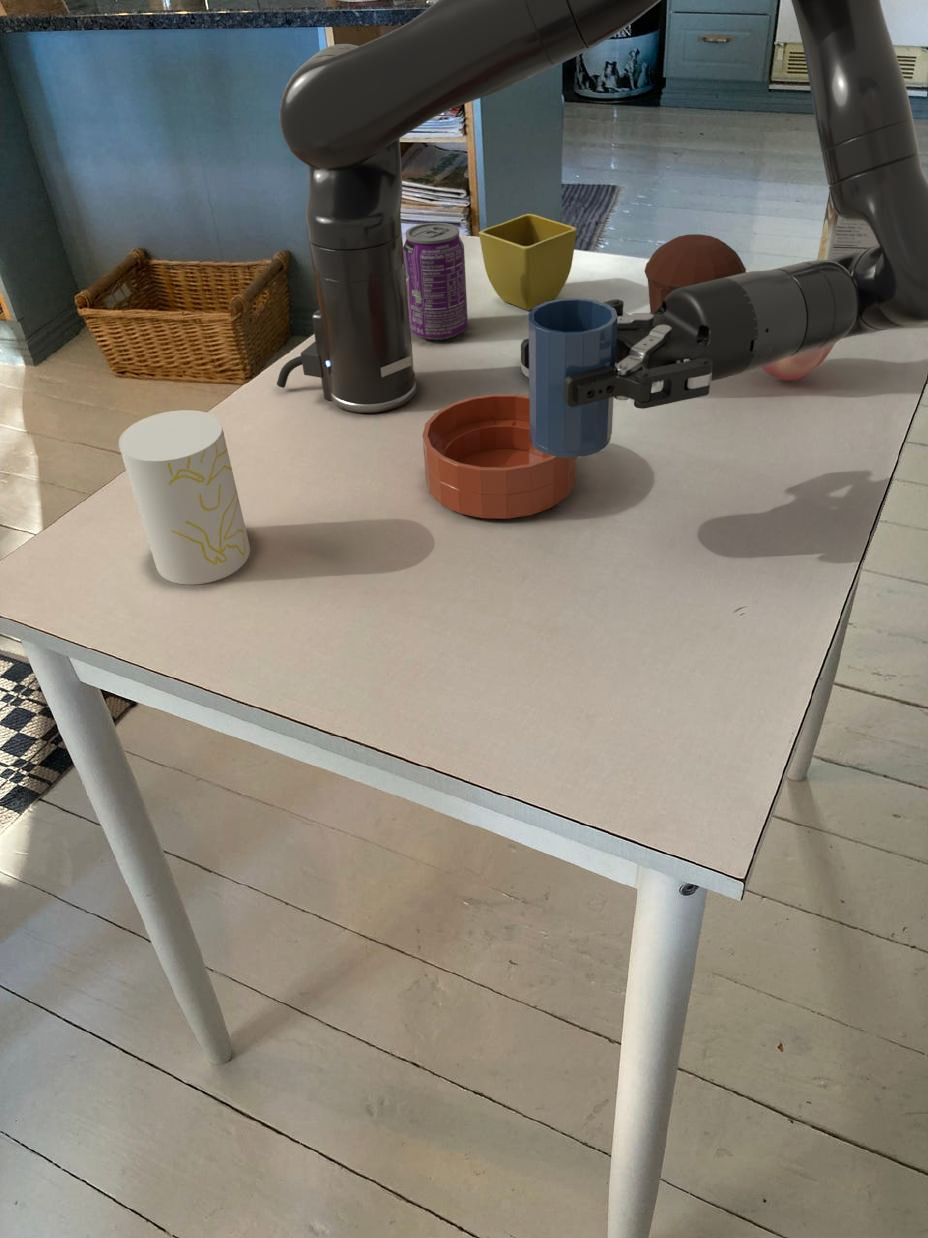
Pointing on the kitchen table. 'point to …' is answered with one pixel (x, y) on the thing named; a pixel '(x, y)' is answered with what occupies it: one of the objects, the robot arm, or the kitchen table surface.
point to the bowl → (492, 460)
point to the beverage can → (435, 281)
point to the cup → (186, 495)
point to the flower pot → (528, 259)
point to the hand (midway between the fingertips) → (544, 373)
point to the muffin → (689, 265)
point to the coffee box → (843, 235)
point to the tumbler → (558, 349)
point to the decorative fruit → (798, 364)
